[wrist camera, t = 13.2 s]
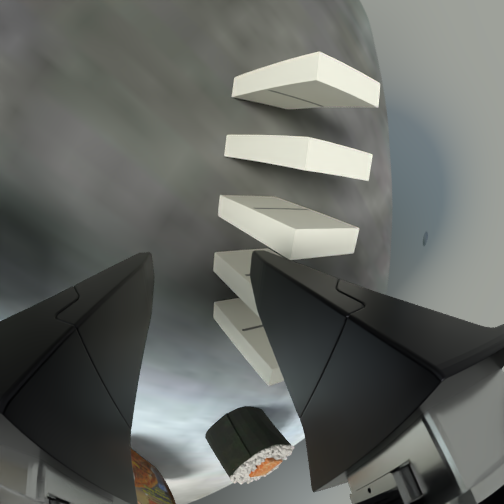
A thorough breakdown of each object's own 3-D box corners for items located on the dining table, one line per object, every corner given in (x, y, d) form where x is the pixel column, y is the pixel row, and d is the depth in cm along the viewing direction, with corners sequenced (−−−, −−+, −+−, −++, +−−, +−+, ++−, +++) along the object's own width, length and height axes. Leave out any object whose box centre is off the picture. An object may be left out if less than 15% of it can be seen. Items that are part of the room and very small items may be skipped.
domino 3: (287, 109, 21) (378, 107, 14) (231, 97, 19) (316, 80, 11) (289, 91, 21) (380, 83, 13) (234, 77, 18) (319, 51, 11)
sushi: (195, 441, 30) (223, 489, 24) (235, 401, 31) (271, 450, 24) (235, 446, 35) (263, 485, 29) (272, 410, 36) (306, 449, 29)
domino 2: (261, 308, 27) (323, 364, 20) (213, 317, 25) (268, 386, 18) (264, 293, 27) (329, 348, 20) (214, 301, 24) (272, 369, 17)
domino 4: (280, 162, 23) (368, 181, 15) (224, 156, 20) (304, 170, 13) (283, 143, 22) (372, 154, 15) (226, 134, 20) (309, 137, 12)
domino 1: (265, 265, 26) (336, 316, 18) (213, 271, 23) (276, 333, 16) (268, 248, 25) (342, 295, 18) (214, 252, 23) (281, 309, 15)
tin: (164, 473, 30) (187, 519, 24) (146, 480, 29) (167, 526, 23) (110, 429, 23) (130, 495, 17) (87, 436, 22) (104, 502, 15)
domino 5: (272, 215, 24) (353, 253, 17) (217, 215, 22) (290, 260, 14) (275, 196, 24) (359, 228, 16) (219, 194, 21) (295, 229, 14)
